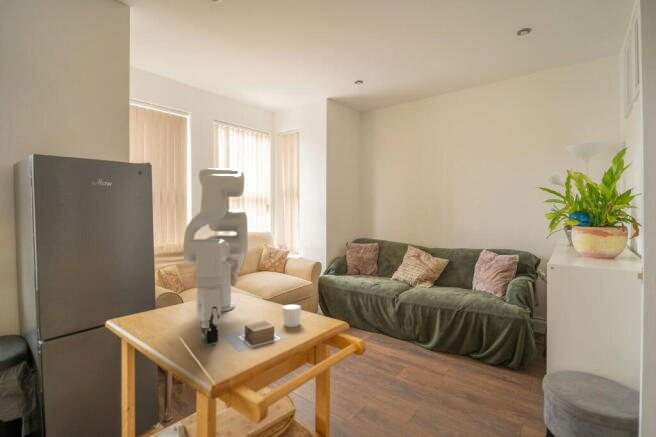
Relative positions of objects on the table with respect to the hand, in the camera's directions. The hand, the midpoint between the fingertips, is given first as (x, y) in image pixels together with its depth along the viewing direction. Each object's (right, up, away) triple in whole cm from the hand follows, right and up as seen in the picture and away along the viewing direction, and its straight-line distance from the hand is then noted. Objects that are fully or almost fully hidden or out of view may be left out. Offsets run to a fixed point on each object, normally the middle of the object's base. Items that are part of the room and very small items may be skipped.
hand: (209, 338), depth 99 cm
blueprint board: (+13, -2, +4) cm, 14 cm away
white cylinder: (+24, -2, +16) cm, 29 cm away
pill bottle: (0, -2, 0) cm, 2 cm away
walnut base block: (+15, -1, +3) cm, 15 cm away
